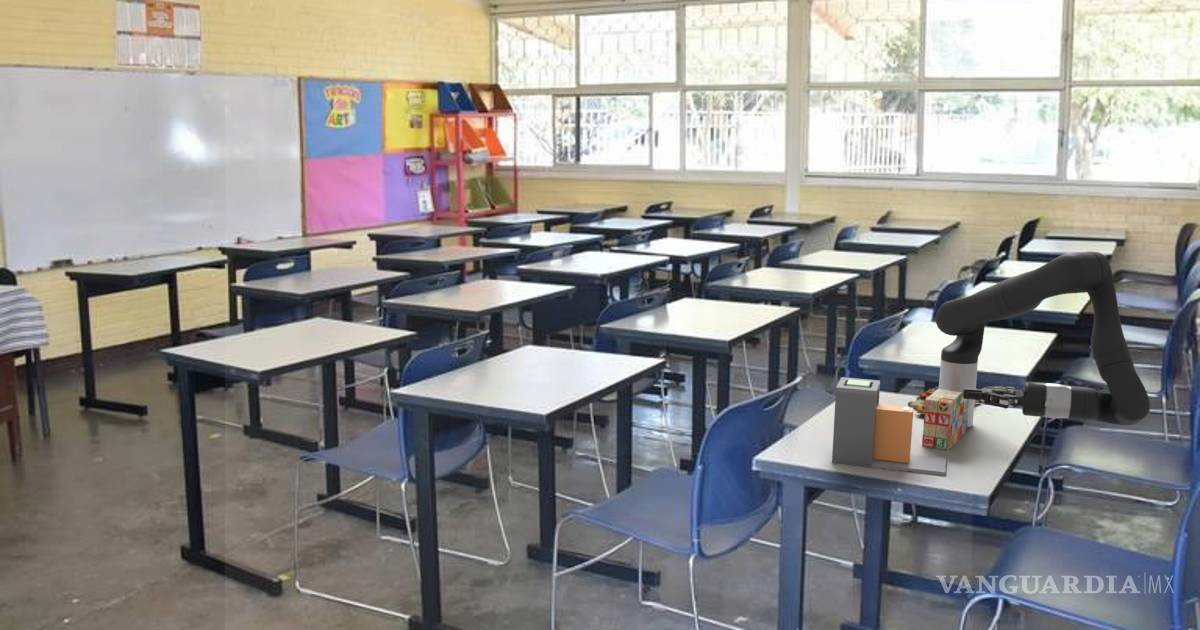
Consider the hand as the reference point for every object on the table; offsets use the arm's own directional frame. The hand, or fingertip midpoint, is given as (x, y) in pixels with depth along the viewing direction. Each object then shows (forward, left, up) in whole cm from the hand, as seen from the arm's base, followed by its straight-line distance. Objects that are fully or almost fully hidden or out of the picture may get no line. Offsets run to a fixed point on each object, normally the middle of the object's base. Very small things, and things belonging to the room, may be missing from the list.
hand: (963, 393), depth 232 cm
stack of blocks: (-26, -3, -18) cm, 32 cm away
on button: (0, -23, -5) cm, 24 cm away
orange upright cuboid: (0, -15, -18) cm, 23 cm away
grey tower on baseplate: (0, -15, -18) cm, 23 cm away
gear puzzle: (-59, -5, -18) cm, 62 cm away
